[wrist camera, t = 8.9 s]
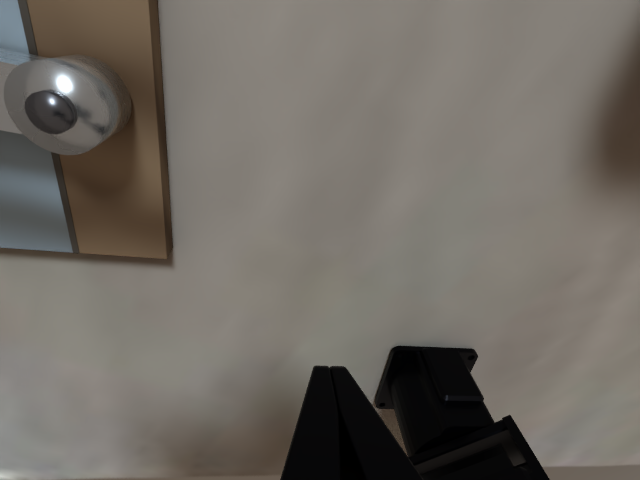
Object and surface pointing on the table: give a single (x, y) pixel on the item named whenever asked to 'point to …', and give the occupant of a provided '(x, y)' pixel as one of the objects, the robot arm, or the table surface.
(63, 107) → the latch bar
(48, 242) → the door panel
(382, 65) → the table surface
